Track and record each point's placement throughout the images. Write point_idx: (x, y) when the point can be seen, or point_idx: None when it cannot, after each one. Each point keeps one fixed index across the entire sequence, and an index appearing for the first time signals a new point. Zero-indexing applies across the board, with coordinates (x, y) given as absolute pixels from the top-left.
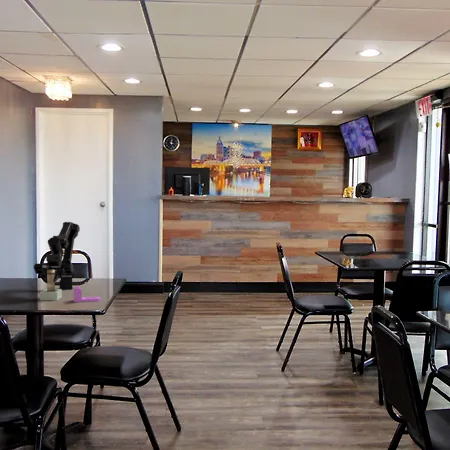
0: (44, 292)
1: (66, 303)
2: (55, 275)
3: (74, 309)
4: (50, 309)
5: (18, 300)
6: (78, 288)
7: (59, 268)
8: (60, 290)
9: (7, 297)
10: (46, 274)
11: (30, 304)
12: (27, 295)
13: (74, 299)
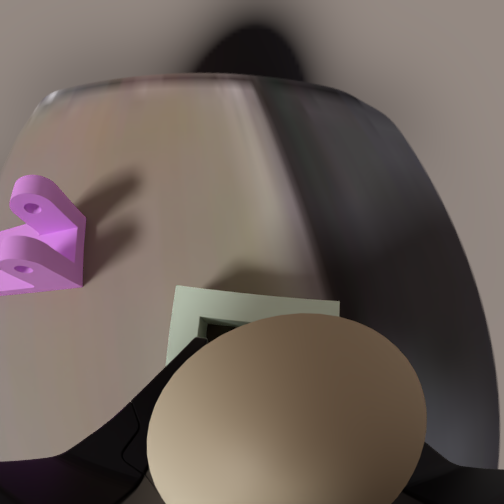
0: (297, 298)
1: (125, 189)
2: None
3: (111, 91)
4: (201, 86)
5: (435, 306)
6: (19, 178)
7: (3, 482)
8: None
9: (489, 384)
10: None
11: (331, 182)
12: None
13: (75, 210)
